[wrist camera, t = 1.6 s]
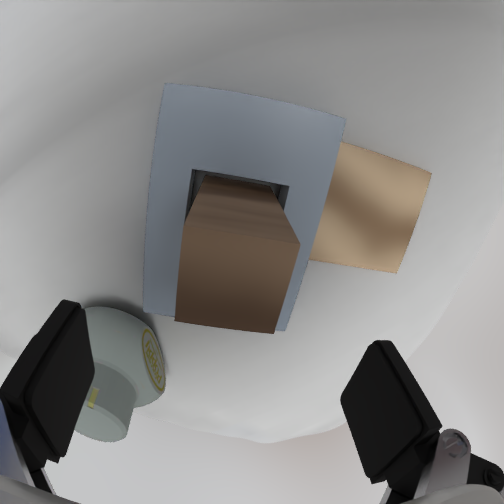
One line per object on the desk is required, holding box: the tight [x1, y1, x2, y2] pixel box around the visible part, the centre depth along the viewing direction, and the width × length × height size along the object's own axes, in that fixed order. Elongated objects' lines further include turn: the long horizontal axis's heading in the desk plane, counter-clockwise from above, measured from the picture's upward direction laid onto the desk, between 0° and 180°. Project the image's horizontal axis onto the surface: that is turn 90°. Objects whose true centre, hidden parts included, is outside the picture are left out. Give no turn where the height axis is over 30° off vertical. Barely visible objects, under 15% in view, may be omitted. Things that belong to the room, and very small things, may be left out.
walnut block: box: [174, 175, 301, 334], centre depth 17 cm, size 4×4×10 cm
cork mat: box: [309, 142, 432, 273], centre depth 21 cm, size 9×9×1 cm
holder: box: [143, 83, 346, 331], centre depth 20 cm, size 16×11×2 cm
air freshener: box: [74, 307, 166, 442], centre depth 21 cm, size 11×8×10 cm
